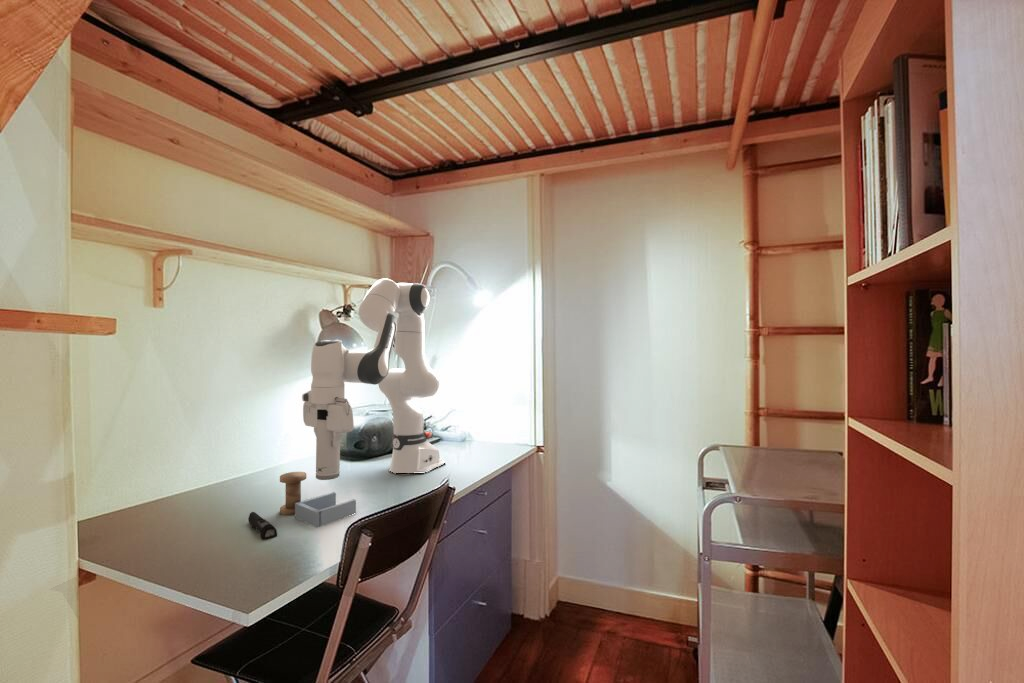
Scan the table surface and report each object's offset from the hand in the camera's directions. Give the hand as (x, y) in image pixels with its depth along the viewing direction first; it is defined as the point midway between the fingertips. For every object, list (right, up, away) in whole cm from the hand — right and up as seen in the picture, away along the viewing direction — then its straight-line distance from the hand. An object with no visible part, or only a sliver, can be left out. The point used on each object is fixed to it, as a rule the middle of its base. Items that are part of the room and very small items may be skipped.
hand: (327, 444), depth 127 cm
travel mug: (0, -9, 0) cm, 9 cm away
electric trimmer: (-13, -20, -10) cm, 27 cm away
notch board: (0, -20, 0) cm, 20 cm away
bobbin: (-11, -20, +3) cm, 23 cm away
